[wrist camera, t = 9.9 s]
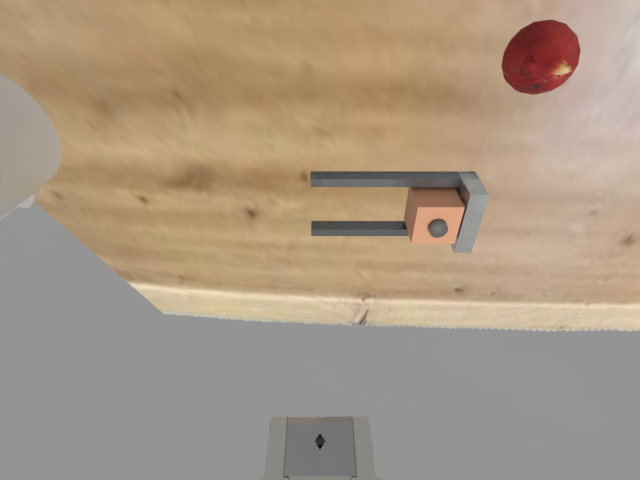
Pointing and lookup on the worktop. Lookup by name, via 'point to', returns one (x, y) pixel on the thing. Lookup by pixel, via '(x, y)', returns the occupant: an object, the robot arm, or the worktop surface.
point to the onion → (541, 57)
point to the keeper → (433, 215)
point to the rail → (463, 181)
